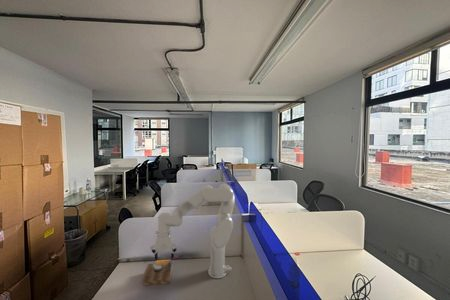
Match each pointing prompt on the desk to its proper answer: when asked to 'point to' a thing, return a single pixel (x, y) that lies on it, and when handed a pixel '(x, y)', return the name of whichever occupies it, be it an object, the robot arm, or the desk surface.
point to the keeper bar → (163, 262)
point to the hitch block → (158, 275)
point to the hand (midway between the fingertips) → (164, 258)
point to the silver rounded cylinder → (158, 267)
